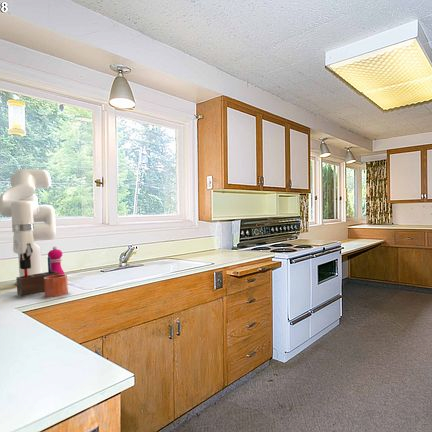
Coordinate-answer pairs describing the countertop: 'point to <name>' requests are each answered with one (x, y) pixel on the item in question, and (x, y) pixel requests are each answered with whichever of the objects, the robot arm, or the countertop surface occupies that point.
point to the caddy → (32, 283)
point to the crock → (55, 285)
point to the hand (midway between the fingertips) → (25, 268)
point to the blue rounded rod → (49, 265)
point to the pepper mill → (56, 260)
